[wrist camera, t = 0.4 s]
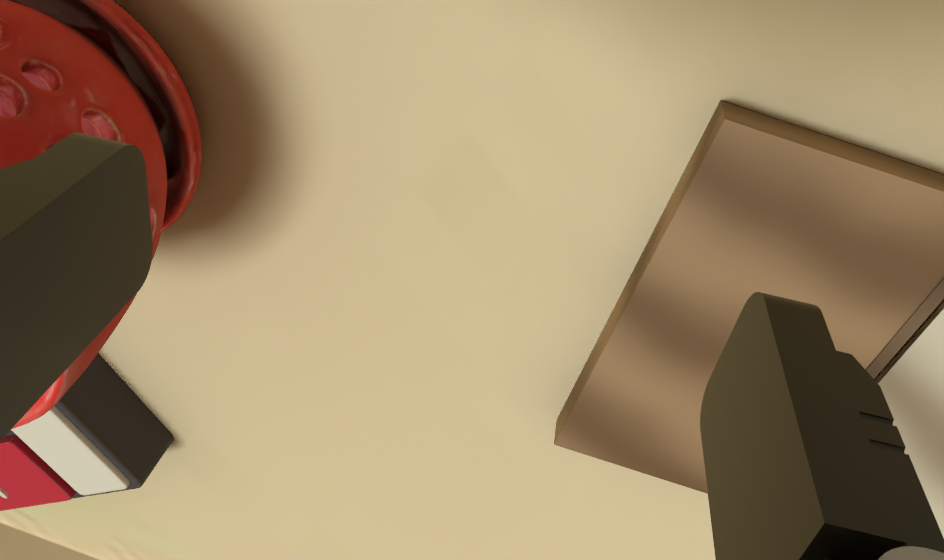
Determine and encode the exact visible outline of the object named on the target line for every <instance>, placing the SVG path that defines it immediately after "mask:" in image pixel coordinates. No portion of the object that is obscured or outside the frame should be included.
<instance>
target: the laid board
mask: <svg viewBox="0 0 944 560" xmlns="http://www.w3.org/2000/svg"><path fill="white" fill-rule="evenodd" d="M755 292H761V293H766V294H770V295H774V296H778V297H783V298H787V299H791V300H796V301H800V302H804V303H809V304H813V305H816V306H818V307H819V308H820V309H821V311H822V314H823V316H824V319H825V322H826V325H827V327H828V330H829V333H830V335H831V338H832V341H833V343H834V346H835V349H836V351H840V352H844V353H849V354H852V355H853V356H854V358H855V359H856V360H857V361H858V362H859V363H860V364H861V365H862V367H863V368H864V369H865V370H866V371H867V372H868V373H869V374H870V376H871V377H872V378H873V379H875V378H876V376H877V375H878V374H879V373H880V372H881V371H882V369H883V368H884V367H885V366H886V365H887V364H888V363H889V361H890V360H891V359H892V358H893V357H894V356H895V354H896V353H897V352H898V351H899V350H900V349H901V348H902V346H903V345H904V344H905V343H906V342H907V341H908V339H909V338H910V337H911V336H912V335H913V334H914V333H915V331H916V330H917V329H918V328H919V327H920V326H921V324H922V323H923V322H924V321H925V320H926V319H927V318H928V316H929V315H930V314H931V313H932V312H933V311H934V309H935V308H936V307H937V306H938V305H939V304H940V303H941V301H942V300H943V299H944V175H943V174H940V173H937V172H934V171H931V170H928V169H925V168H922V167H919V166H916V165H913V164H910V163H907V162H904V161H901V160H898V159H895V158H892V157H889V156H886V155H883V154H880V153H877V152H874V151H871V150H868V149H865V148H862V147H859V146H856V145H853V144H850V143H847V142H844V141H841V140H838V139H835V138H832V137H829V136H826V135H823V134H820V133H817V132H814V131H811V130H808V129H805V128H802V127H799V126H796V125H793V124H790V123H787V122H784V121H781V120H778V119H775V118H772V117H769V116H766V115H763V114H760V113H757V112H754V111H751V110H748V109H745V108H742V107H739V106H736V105H733V104H730V103H727V102H724V101H720V103H719V105H718V107H717V109H716V111H715V113H714V114H713V116H712V118H711V120H710V122H709V124H708V126H707V128H706V130H705V132H704V134H703V136H702V138H701V140H700V142H699V144H698V146H697V148H696V150H695V152H694V153H693V155H692V157H691V159H690V161H689V163H688V165H687V167H686V169H685V171H684V173H683V175H682V177H681V179H680V181H679V183H678V185H677V187H676V189H675V191H674V193H673V194H672V196H671V198H670V200H669V202H668V204H667V206H666V208H665V210H664V212H663V214H662V216H661V218H660V220H659V222H658V224H657V226H656V228H655V230H654V232H653V233H652V235H651V237H650V239H649V241H648V243H647V245H646V247H645V249H644V251H643V253H642V255H641V257H640V259H639V261H638V263H637V265H636V267H635V269H634V271H633V273H632V274H631V276H630V278H629V280H628V282H627V284H626V286H625V288H624V290H623V292H622V294H621V296H620V298H619V300H618V302H617V304H616V306H615V308H614V310H613V312H612V313H611V315H610V317H609V319H608V321H607V323H606V325H605V327H604V329H603V331H602V333H601V335H600V337H599V339H598V341H597V343H596V345H595V347H594V349H593V351H592V353H591V354H590V356H589V358H588V360H587V362H586V364H585V366H584V368H583V370H582V372H581V374H580V376H579V378H578V380H577V382H576V384H575V386H574V388H573V390H572V392H571V393H570V395H569V397H568V399H567V401H566V403H565V405H564V407H563V409H562V411H561V413H560V415H559V417H558V419H557V422H556V431H555V440H554V445H557V446H560V447H564V448H567V449H570V450H573V451H576V452H579V453H582V454H586V455H589V456H592V457H595V458H598V459H601V460H604V461H607V462H611V463H614V464H617V465H620V466H623V467H626V468H629V469H632V470H636V471H639V472H642V473H645V474H648V475H651V476H654V477H658V478H661V479H664V480H667V481H670V482H673V483H676V484H679V485H683V486H686V487H689V488H692V489H695V490H698V491H701V492H704V493H708V490H707V481H706V473H705V464H704V456H703V448H702V439H701V431H700V413H701V406H702V400H703V396H704V392H705V389H706V386H707V383H708V381H709V379H710V376H711V374H712V372H713V370H714V368H715V366H716V364H717V362H718V360H719V357H720V355H721V353H722V351H723V349H724V347H725V345H726V343H727V341H728V338H729V336H730V334H731V332H732V330H733V328H734V326H735V324H736V322H737V319H738V317H739V315H740V313H741V311H742V309H743V307H744V305H745V303H746V302H747V300H748V299H749V297H750V296H751V295H752V294H753V293H755Z"/></svg>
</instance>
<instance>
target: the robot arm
mask: <svg viewBox="0 0 944 560" xmlns="http://www.w3.org/2000/svg"><path fill="white" fill-rule="evenodd" d="M152 254H153V243H152V232H151V220H150V209H149V197H148V186H147V175H146V165H145V160H144V156H143V154H142V152H141V150H140V149H139V148H138V147H137V146H134V145H131V144H127V143H123V142H118V141H114V140H110V139H105V138H101V137H97V136H93V135H88V134H84V133H77V132H76V133H72V134H70V135H68V136H66V137H65V138H63V139H62V140H60V141H59V142H57V143H56V144H54V145H53V146H51V147H50V148H48V149H47V150H45V151H44V152H42V153H41V154H39V155H38V156H36V157H35V158H33V159H32V160H26V161H22V162H19V163H16V164H13V165H10V166H7V167H4V168H1V169H0V441H1V440H2V439H3V438H4V437H5V435H6V434H7V433H8V432H9V431H10V430H11V429H12V428H13V427H14V426H15V425H16V423H17V422H18V421H19V420H20V419H21V418H22V417H23V416H24V415H25V414H26V413H27V412H28V410H29V409H30V408H31V407H32V406H33V405H34V404H35V403H36V402H37V401H38V400H39V399H40V397H41V396H42V395H43V394H44V393H45V392H46V391H47V390H48V389H49V388H50V387H51V386H52V384H53V383H54V382H55V381H56V380H57V379H58V378H59V377H60V376H61V375H62V374H63V373H64V371H65V370H66V369H67V368H68V367H69V366H70V365H71V364H72V363H73V362H74V361H75V360H76V358H77V357H78V356H79V355H80V354H81V353H82V352H83V351H84V350H85V349H86V348H87V346H88V345H89V344H90V343H91V342H92V341H93V340H94V339H95V338H96V337H97V336H98V335H99V333H100V332H101V331H102V330H103V329H104V328H105V327H106V326H107V325H108V324H109V323H110V322H111V320H112V319H113V318H114V317H115V316H116V315H117V314H118V313H119V312H120V311H121V310H122V309H123V307H124V306H125V305H126V304H127V303H128V302H129V301H130V300H131V299H132V298H133V297H134V296H135V294H136V293H137V292H138V291H139V290H140V288H141V287H142V285H143V283H144V282H145V280H146V277H147V275H148V272H149V269H150V265H151V261H152ZM893 421H894V418H893V416H892V413H891V411H890V409H889V406H888V404H887V402H886V399H885V397H884V394H883V392H882V390H881V387H880V386H879V385H878V383H877V382H876V381H875V380H874V379H873V378H872V377H871V376H870V374H869V373H868V372H867V371H866V370H865V369H864V368H863V367H862V365H861V364H860V363H859V362H858V361H857V360H856V359H855V358H854V356H853V355H852V354H849V353H844V352H840V351H836V349H835V346H834V343H833V341H832V338H831V335H830V333H829V330H828V327H827V325H826V322H825V319H824V316H823V314H822V311H821V309H820V308H819V307H818V306H816V305H813V304H809V303H804V302H800V301H796V300H791V299H787V298H783V297H778V296H774V295H770V294H766V293H761V292H755V293H753V294H752V295H751V296H750V297H749V299H748V300H747V302H746V303H745V305H744V307H743V309H742V311H741V313H740V315H739V317H738V319H737V322H736V324H735V326H734V328H733V330H732V332H731V334H730V336H729V338H728V341H727V343H726V345H725V347H724V349H723V351H722V353H721V355H720V357H719V360H718V362H717V364H716V366H715V368H714V370H713V372H712V374H711V376H710V379H709V381H708V383H707V386H706V389H705V392H704V396H703V400H702V406H701V413H700V431H701V439H702V448H703V456H704V464H705V473H706V481H707V490H708V498H709V506H710V515H711V523H712V531H713V540H714V548H715V556H716V560H944V538H943V535H942V533H941V531H940V528H939V526H938V523H937V521H936V519H935V516H934V514H933V511H932V509H931V507H930V504H929V502H928V499H927V497H926V495H925V492H924V490H923V488H922V485H921V483H920V480H919V478H918V476H917V473H916V471H915V468H914V466H913V464H912V461H911V459H910V456H909V455H908V454H905V453H904V451H905V448H906V447H905V445H904V442H903V440H902V437H901V435H900V433H899V430H898V428H897V426H894V425H893Z"/></svg>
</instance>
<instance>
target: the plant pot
mask: <svg viewBox="0 0 944 560" xmlns="http://www.w3.org/2000/svg"><path fill="white" fill-rule="evenodd" d="M76 132H77V133H84V134H88V135H93V136H97V137H101V138H105V139H110V140H114V141H118V142H123V143H127V144H131V145H134V146H137V147H138V148H139V149H140V150H141V152H142V154H143V156H144V160H145V165H146V175H147V186H148V197H149V209H150V220H151V232H152V243H153V254H152V259H153V257H154V254H155V251H156V248H157V245H158V241H159V238H160V234H161V232H162V231H164V230H165V229H167V228H168V227H169V226H171V225H172V224H173V223H174V222H175V221H176V220H177V219H178V218H179V217H180V216H181V215H182V213H183V212H184V211H185V209H186V208H187V206H188V205H189V203H190V201H191V199H192V197H193V195H194V193H195V190H196V188H197V185H198V181H199V176H200V171H201V165H202V146H201V137H200V130H199V126H198V121H197V117H196V114H195V111H194V108H193V105H192V102H191V99H190V97H189V95H188V93H187V90H186V88H185V86H184V84H183V82H182V80H181V78H180V77H179V75H178V73H177V71H176V69H175V67H174V66H173V64H172V63H171V61H170V60H169V58H168V57H167V55H166V54H165V53H164V52H163V50H162V49H161V48H160V46H159V45H158V44H157V43H156V41H155V40H154V39H153V38H152V37H151V36H150V35H149V34H148V32H147V31H146V30H145V29H144V28H143V27H142V26H141V25H140V24H139V23H138V22H137V21H136V20H135V19H134V18H133V17H131V16H130V15H129V14H128V13H127V12H126V11H125V10H124V9H122V8H121V7H120V6H119V5H117V4H116V3H115V2H114V1H113V0H0V169H1V168H4V167H7V166H10V165H13V164H16V163H19V162H22V161H26V160H32V159H33V158H35V157H36V156H38V155H39V154H41V153H42V152H44V151H45V150H47V149H48V148H50V147H51V146H53V145H54V144H56V143H57V142H59V141H60V140H62V139H63V138H65V137H66V136H68V135H70V134H72V133H76ZM136 294H137V293H136ZM136 294H135V296H136ZM135 296H134V297H133V298H132V299H131V300H130V301H129V302H128V303H127V304H126V305H125V306H124V307H123V309H122V310H121V311H120V312H119V313H118V314H117V315H116V316H115V317H114V318H113V319H112V320H111V322H110V323H109V324H108V325H107V326H106V327H105V328H104V329H103V330H102V331H101V332H100V333H99V335H98V336H97V337H96V338H95V339H94V340H93V341H92V342H91V343H90V344H89V345H88V346H87V348H86V349H85V350H84V351H83V352H82V353H81V354H80V355H79V356H78V357H77V358H76V360H75V361H74V362H73V363H72V364H71V365H70V366H69V367H68V368H67V369H66V370H65V371H64V373H63V374H62V375H61V376H60V377H59V378H58V379H57V380H56V381H55V382H54V383H53V384H52V386H51V387H50V388H49V389H48V390H47V391H46V392H45V393H44V394H43V395H42V396H41V397H40V399H39V400H38V401H37V402H36V403H35V404H34V405H33V406H32V407H31V408H30V409H29V410H28V412H27V413H26V414H25V415H24V416H23V417H22V418H21V419H20V420H19V421H18V422H17V423H16V425H15V426H14V427H13V428H12V429H14V428H16V427H19V426H22V425H25V424H28V423H30V422H32V421H34V420H36V419H38V418H40V417H41V416H43V415H44V414H46V413H47V412H48V411H49V410H51V409H52V408H53V407H54V406H55V405H56V403H57V402H58V401H59V400H60V399H61V398H62V397H63V395H64V394H65V393H66V392H67V390H68V389H69V388H70V387H71V386H72V385H73V384H74V383H75V382H76V380H77V379H78V378H79V377H80V375H81V374H82V373H83V372H84V371H85V369H86V368H87V367H88V366H89V364H90V363H91V362H92V360H93V359H94V358H95V356H96V355H97V353H98V352H99V351H100V349H101V348H102V347H103V345H104V344H105V342H106V341H107V340H108V338H109V337H110V335H111V334H112V332H113V331H114V330H115V328H116V326H117V325H118V323H119V322H120V320H121V319H122V317H123V316H124V314H125V313H126V311H127V310H128V308H129V306H130V305H131V303H132V301H133V300H134V298H135Z"/></svg>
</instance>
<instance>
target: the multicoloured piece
mask: <svg viewBox="0 0 944 560" xmlns="http://www.w3.org/2000/svg"><path fill="white" fill-rule="evenodd" d="M173 439H174V437H173V435H172V434H171V433H170V432H169V431H168V429H167V428H166V427H165V426H164V425H163V424H162V423H161V422H160V421H159V420H158V418H157V417H156V416H155V415H154V414H153V413H152V412H151V411H150V410H149V409H148V407H147V406H146V405H145V404H144V403H143V402H142V401H141V400H140V399H139V398H138V396H137V395H136V394H135V393H134V392H133V391H132V390H131V389H130V388H129V387H128V386H127V384H126V383H125V382H124V381H123V380H122V379H121V378H120V377H119V376H118V375H117V373H116V372H115V371H114V370H113V369H112V368H111V367H110V366H109V365H108V364H107V362H106V361H105V360H104V359H103V358H102V357H101V356H100V355H99V354H98V353H97V355H96V356H95V358H94V359H93V360H92V362H91V363H90V364H89V366H88V367H87V368H86V369H85V371H84V372H83V373H82V374H81V375H80V377H79V378H78V379H77V380H76V382H75V383H74V384H73V385H72V386H71V387H70V388H69V389H68V390H67V392H66V393H65V394H64V395H63V397H62V398H61V399H60V400H59V401H58V402H57V403H56V405H55V406H54V407H53V408H52V409H51V410H49V411H48V412H47V413H46V414H44V415H43V416H41V417H40V418H38V419H36V420H34V421H32V422H30V423H28V424H25V425H22V426H19V427H16V428H14V429H11V430H10V431H9V432H8V433H7V434H6V435H5V437H4V438H3V439H2V440H1V441H0V511H3V510H9V509H16V508H22V507H29V506H35V505H42V504H48V503H54V502H61V501H67V500H70V499H72V498H78V497H85V496H91V495H97V494H104V493H110V492H117V491H123V490H129V489H136V488H140V487H141V486H142V485H143V483H144V482H145V480H146V479H147V478H148V476H149V475H150V473H151V472H152V470H153V469H154V467H155V466H156V464H157V463H158V461H159V460H160V458H161V457H162V456H163V454H164V453H165V451H166V450H167V448H168V447H169V445H170V444H171V442H172V441H173Z"/></svg>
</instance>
